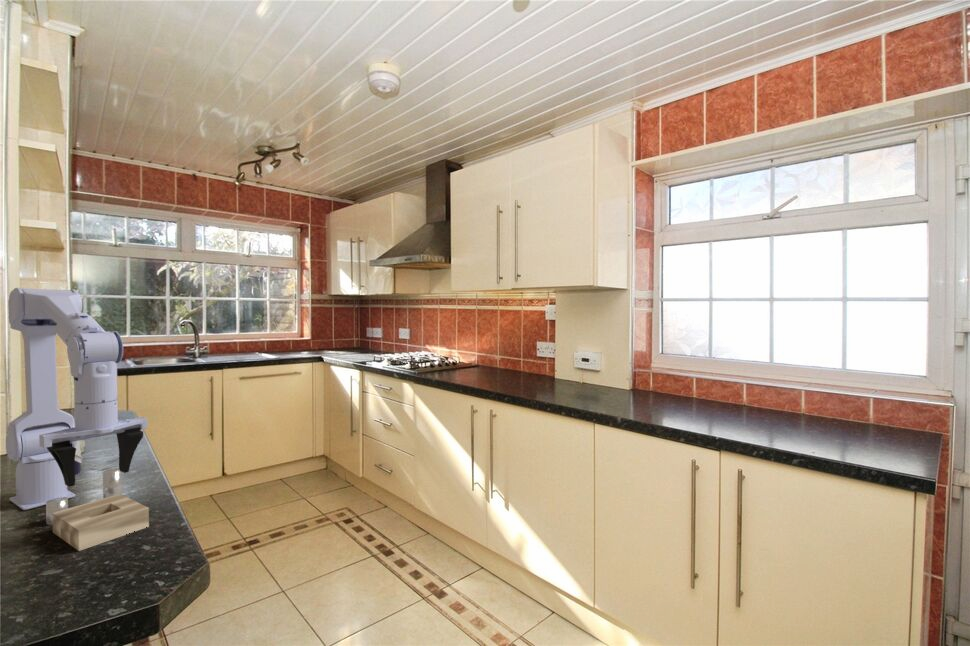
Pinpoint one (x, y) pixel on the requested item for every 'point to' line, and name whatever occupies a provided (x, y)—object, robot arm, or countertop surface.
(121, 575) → the countertop surface
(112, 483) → the long steel pin
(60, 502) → the short steel pin
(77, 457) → the white and blue bar
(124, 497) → the birch board
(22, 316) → the robot arm
